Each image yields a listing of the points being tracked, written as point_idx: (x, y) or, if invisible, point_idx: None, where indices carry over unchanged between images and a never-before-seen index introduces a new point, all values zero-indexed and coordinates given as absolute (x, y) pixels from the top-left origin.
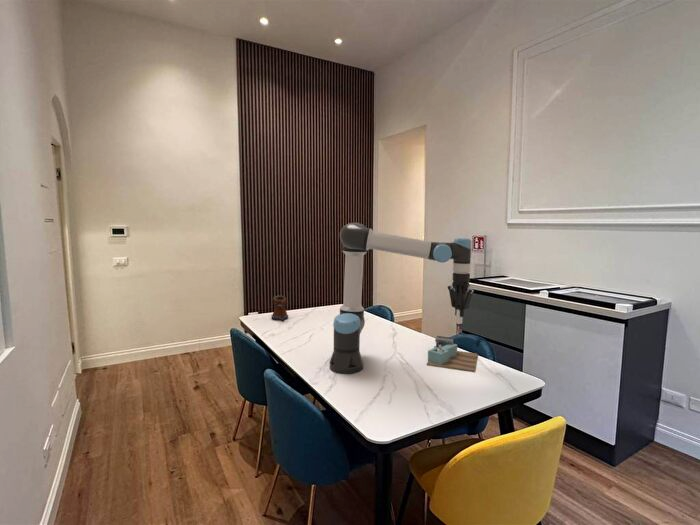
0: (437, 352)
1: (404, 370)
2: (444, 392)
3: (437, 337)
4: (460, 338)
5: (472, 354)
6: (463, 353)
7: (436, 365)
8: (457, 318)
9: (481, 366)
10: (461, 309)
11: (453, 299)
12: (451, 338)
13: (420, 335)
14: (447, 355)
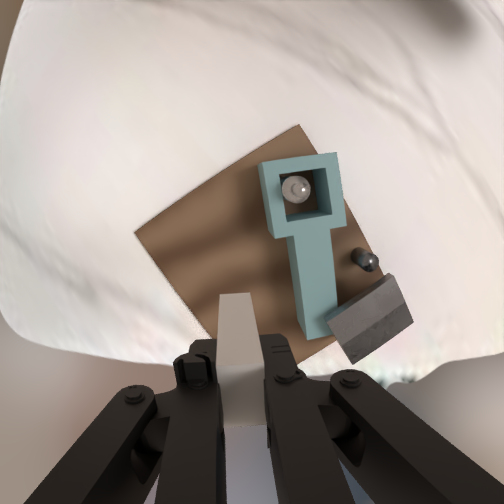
0: (290, 167)
1: (305, 25)
2: (99, 19)
3: (401, 306)
4: None
5: None
6: None
7: (264, 145)
8: (237, 313)
9: (162, 303)
10: (177, 376)
11: (386, 460)
12: (352, 351)
13: (482, 350)
14: (269, 221)
